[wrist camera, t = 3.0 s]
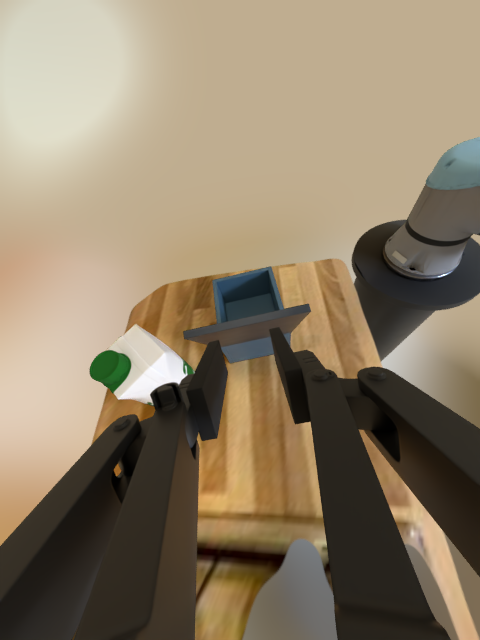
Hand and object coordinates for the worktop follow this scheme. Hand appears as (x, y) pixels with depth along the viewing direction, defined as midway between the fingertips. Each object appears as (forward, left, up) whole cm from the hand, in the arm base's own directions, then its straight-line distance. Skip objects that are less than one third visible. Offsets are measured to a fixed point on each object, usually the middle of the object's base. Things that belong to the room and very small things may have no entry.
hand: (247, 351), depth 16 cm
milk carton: (+17, -7, -28) cm, 34 cm away
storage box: (0, -18, -28) cm, 34 cm away
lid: (0, -8, -11) cm, 14 cm away
